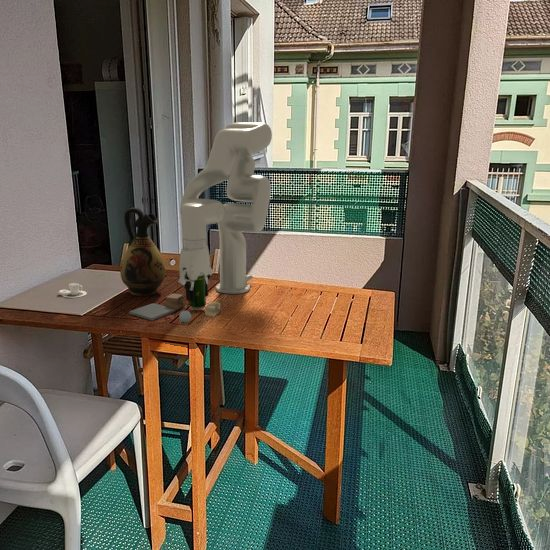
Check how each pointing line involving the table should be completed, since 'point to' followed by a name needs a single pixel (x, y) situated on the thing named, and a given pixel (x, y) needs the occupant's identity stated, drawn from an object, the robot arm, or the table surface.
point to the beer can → (199, 293)
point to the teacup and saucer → (72, 291)
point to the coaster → (152, 311)
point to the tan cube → (174, 301)
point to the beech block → (212, 309)
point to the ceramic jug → (141, 257)
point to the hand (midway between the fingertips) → (197, 297)
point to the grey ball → (185, 316)
